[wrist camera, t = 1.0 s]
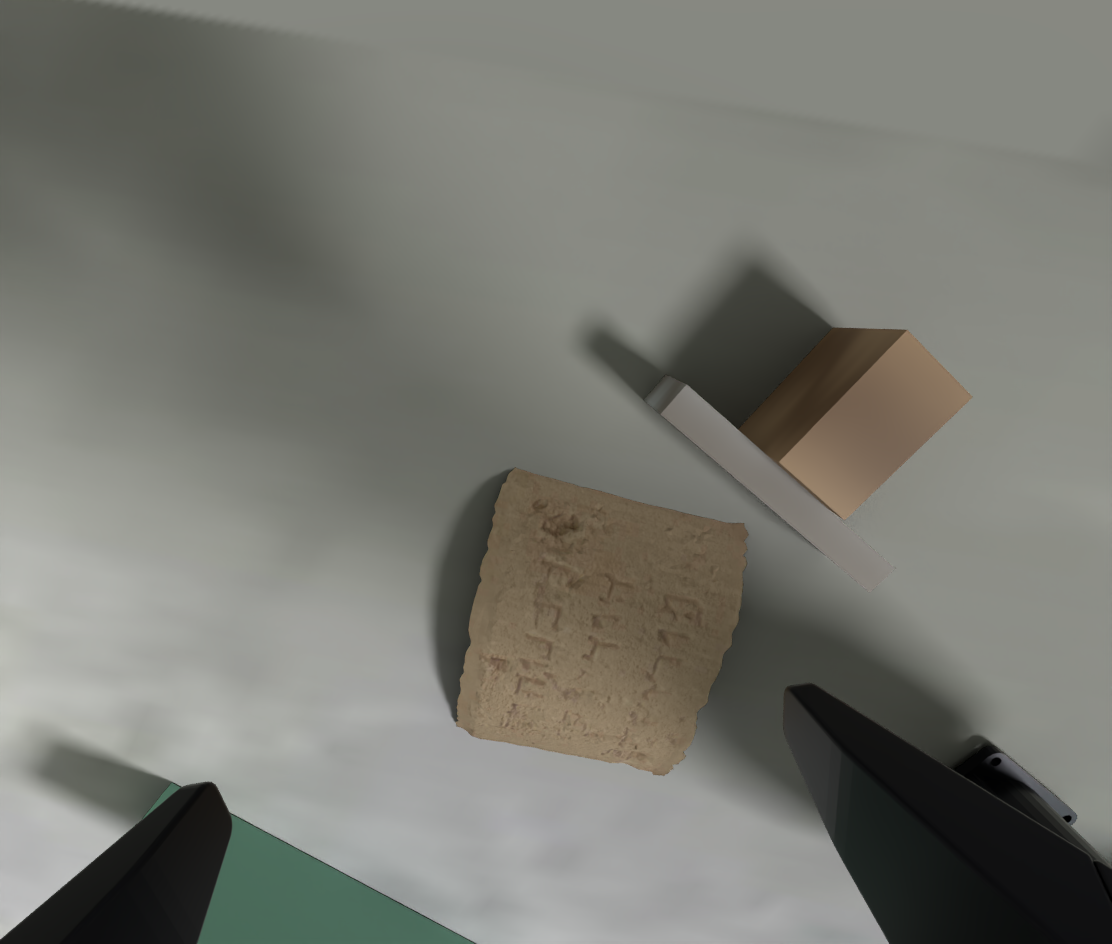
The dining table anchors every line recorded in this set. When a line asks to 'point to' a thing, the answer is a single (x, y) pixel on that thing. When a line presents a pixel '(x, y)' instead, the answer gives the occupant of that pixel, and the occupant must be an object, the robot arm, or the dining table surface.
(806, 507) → the tan block on bar
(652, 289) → the dining table surface
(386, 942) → the bar
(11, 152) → the dining table surface
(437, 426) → the dining table surface
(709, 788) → the dining table surface
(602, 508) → the clay tablet
